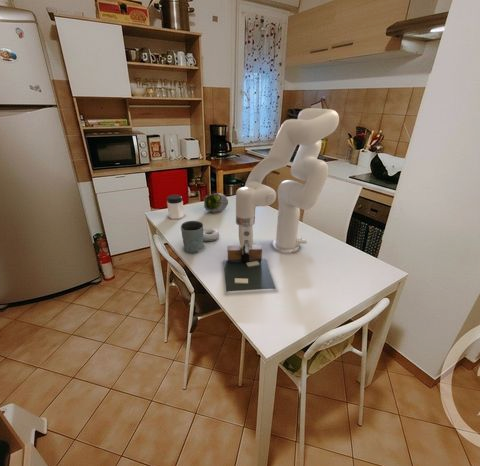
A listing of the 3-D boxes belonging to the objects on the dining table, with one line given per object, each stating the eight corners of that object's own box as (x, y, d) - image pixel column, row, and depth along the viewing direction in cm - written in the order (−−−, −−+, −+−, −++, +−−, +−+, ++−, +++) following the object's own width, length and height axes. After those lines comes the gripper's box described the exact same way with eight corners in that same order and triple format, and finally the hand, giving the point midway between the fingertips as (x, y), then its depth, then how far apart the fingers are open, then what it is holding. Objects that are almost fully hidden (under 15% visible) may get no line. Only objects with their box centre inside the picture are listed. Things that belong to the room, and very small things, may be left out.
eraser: (259, 256, 114) (260, 244, 111) (261, 261, 110) (262, 249, 108) (227, 257, 113) (227, 245, 110) (228, 262, 109) (227, 250, 106)
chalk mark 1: (248, 279, 100) (248, 278, 99) (248, 284, 97) (248, 282, 97) (234, 279, 100) (234, 278, 99) (234, 283, 97) (234, 282, 97)
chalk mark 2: (257, 261, 110) (257, 260, 110) (259, 265, 108) (259, 264, 108) (246, 263, 109) (246, 262, 109) (248, 267, 107) (248, 265, 107)
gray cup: (192, 241, 128) (190, 218, 122) (209, 246, 123) (208, 223, 118) (178, 250, 120) (175, 226, 115) (195, 256, 116) (193, 232, 110)
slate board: (265, 260, 113) (265, 258, 113) (275, 290, 96) (275, 288, 95) (223, 262, 112) (223, 260, 111) (226, 294, 94) (226, 291, 94)
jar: (176, 212, 159) (173, 193, 154) (186, 214, 156) (185, 195, 150) (165, 217, 152) (163, 198, 147) (176, 220, 149) (174, 200, 143)
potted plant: (232, 205, 161) (220, 206, 148) (217, 215, 167) (204, 218, 154) (223, 188, 162) (210, 188, 149) (208, 199, 168) (195, 200, 155)
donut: (197, 234, 134) (200, 243, 126) (197, 228, 133) (200, 237, 124) (217, 232, 137) (221, 241, 128) (216, 226, 135) (220, 234, 127)
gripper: (258, 228, 96) (256, 269, 104) (251, 210, 110) (250, 248, 119) (237, 229, 95) (237, 270, 104) (234, 211, 110) (234, 248, 118)
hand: (244, 258), depth 111 cm, fingers closed on eraser, 4 cm apart
